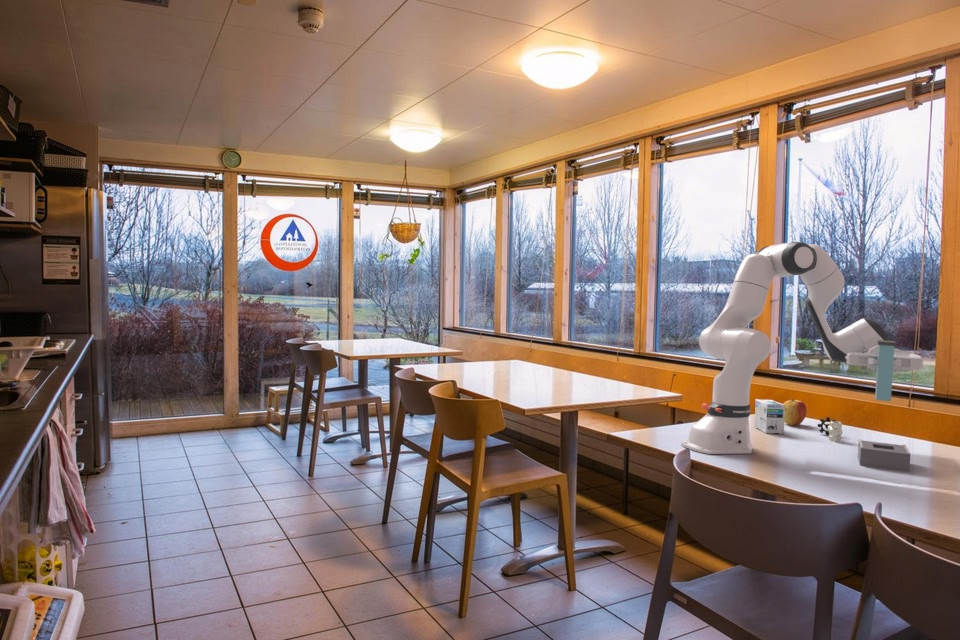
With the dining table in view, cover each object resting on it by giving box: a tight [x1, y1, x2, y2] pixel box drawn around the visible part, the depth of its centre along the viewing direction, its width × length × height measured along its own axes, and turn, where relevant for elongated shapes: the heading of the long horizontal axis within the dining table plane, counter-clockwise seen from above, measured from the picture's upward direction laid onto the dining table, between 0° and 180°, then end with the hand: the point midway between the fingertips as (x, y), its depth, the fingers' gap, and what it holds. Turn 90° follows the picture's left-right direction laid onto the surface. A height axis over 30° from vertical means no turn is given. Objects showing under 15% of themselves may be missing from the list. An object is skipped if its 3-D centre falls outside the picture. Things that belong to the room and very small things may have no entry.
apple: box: [782, 398, 807, 426], centre depth 247 cm, size 9×9×10 cm
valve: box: [816, 416, 843, 443], centre depth 225 cm, size 7×7×12 cm
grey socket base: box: [857, 438, 911, 473], centre depth 188 cm, size 12×12×6 cm
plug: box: [874, 340, 897, 402], centre depth 196 cm, size 4×4×18 cm
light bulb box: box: [754, 398, 785, 435], centre depth 234 cm, size 11×7×11 cm, turn 179°
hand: (885, 363), depth 195 cm, fingers closed on plug, 4 cm apart
